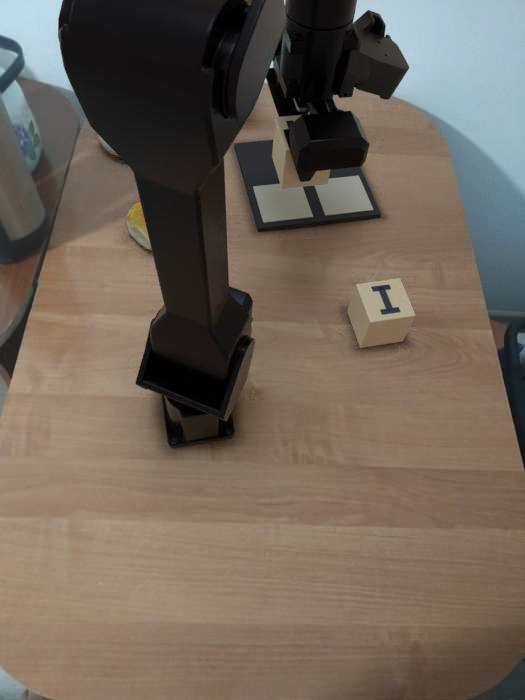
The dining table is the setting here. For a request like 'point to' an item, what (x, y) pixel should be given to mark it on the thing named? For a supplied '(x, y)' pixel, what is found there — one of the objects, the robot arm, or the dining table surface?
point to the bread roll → (138, 225)
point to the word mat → (301, 193)
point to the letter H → (290, 158)
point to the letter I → (380, 312)
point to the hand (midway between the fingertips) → (299, 163)
